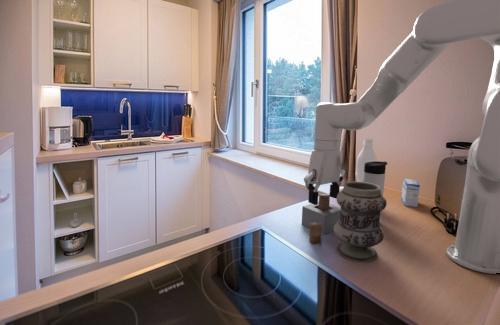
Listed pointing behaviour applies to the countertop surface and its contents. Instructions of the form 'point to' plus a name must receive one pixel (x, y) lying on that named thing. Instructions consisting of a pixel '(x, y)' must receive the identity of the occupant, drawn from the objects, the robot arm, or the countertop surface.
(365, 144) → the water bottle
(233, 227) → the countertop surface
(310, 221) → the socket block
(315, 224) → the short pin
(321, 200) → the long pin
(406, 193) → the medicine box
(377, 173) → the travel mug
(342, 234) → the apothecary jar
